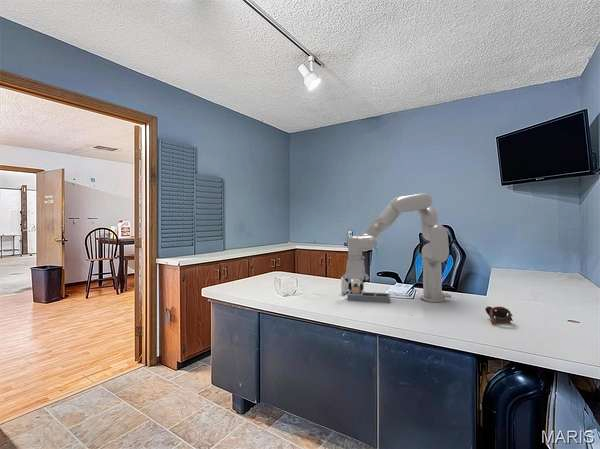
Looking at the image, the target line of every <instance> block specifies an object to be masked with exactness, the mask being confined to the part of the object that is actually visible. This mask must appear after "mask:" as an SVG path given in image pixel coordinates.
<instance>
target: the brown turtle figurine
mask: <svg viewBox="0 0 600 449" xmlns="http://www.w3.org/2000/svg"><path fill="white" fill-rule="evenodd" d="M485 312H486V314H487V315H488V317H489V319H490V324H491V323H492V324H491V325H493V324H495V325H503V324H505V325H506V324H508V323H511V322H514V321H513V317H514V316H513V314H512V313H511V311H510V309H508V308H506V307H504V306H494V307H492V306H486V307H485Z"/></svg>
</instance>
